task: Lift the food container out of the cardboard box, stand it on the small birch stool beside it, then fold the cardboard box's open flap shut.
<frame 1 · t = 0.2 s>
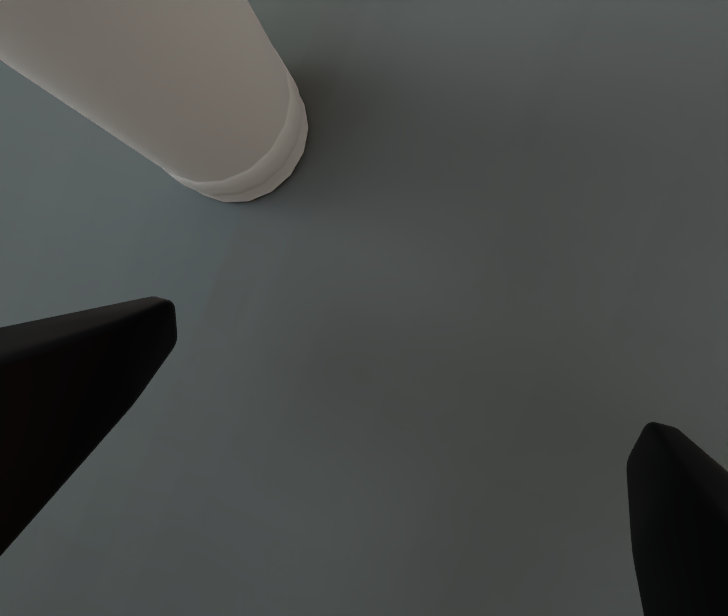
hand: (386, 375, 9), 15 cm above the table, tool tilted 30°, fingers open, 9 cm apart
bottle: (241, 136, 27), on the table
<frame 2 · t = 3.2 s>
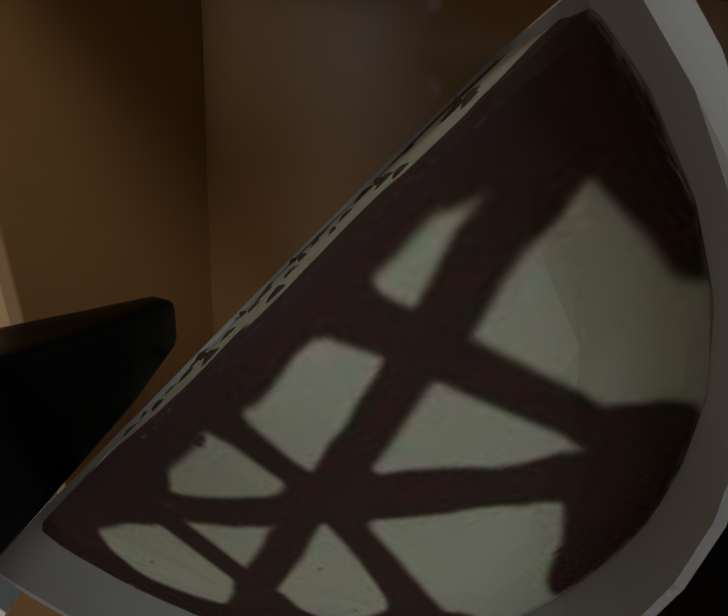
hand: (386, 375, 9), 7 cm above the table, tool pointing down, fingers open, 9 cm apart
food container: (437, 259, 14), resting on cardboard box
cardboard box: (439, 256, 15), on the table
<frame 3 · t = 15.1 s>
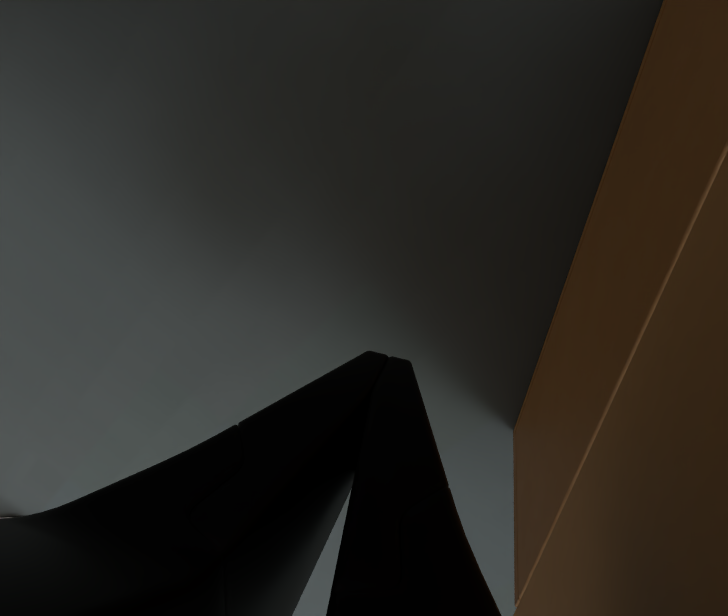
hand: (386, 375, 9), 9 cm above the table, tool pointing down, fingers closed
flap: (651, 568, 6), point 12 cm above the table, hinge at 95.6°, touching gripper
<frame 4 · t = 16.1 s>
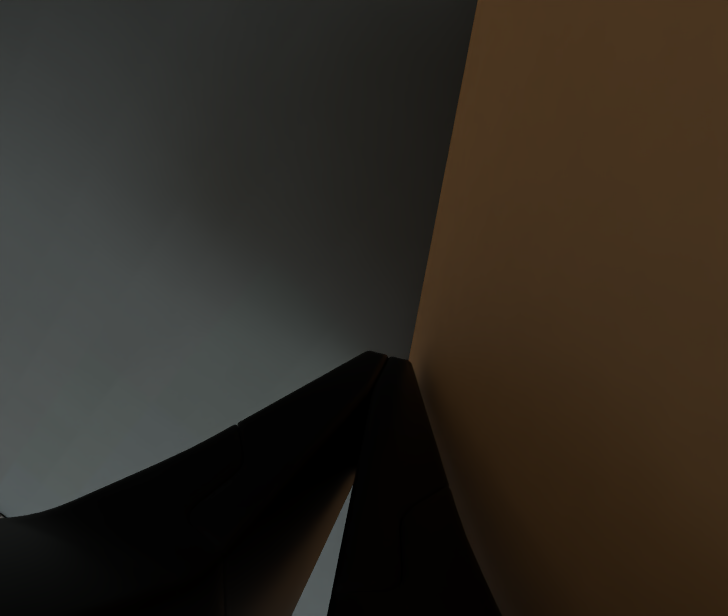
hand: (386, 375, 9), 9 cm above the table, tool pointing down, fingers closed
flap: (485, 504, 7), point 11 cm above the table, hinge at 65.7°, touching gripper
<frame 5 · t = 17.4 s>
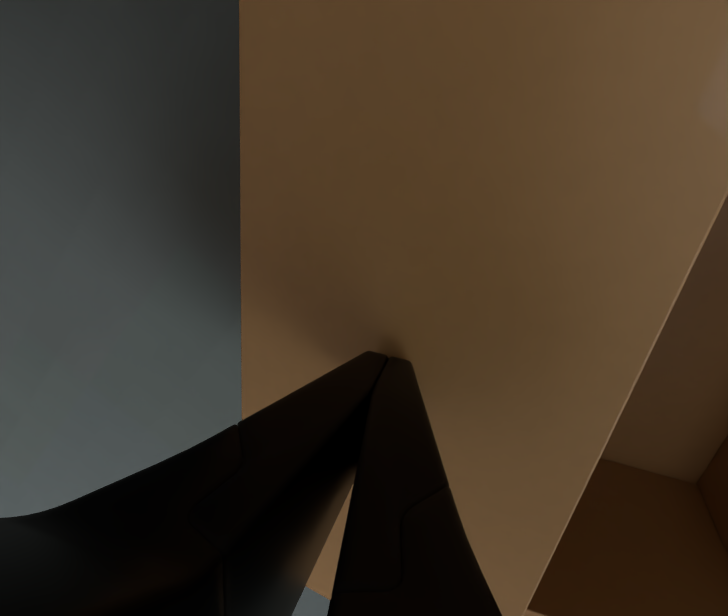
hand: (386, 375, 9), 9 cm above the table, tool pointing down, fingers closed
flap: (401, 370, 9), point 9 cm above the table, hinge at 10.5°
cardboard box: (564, 254, 16), on the table
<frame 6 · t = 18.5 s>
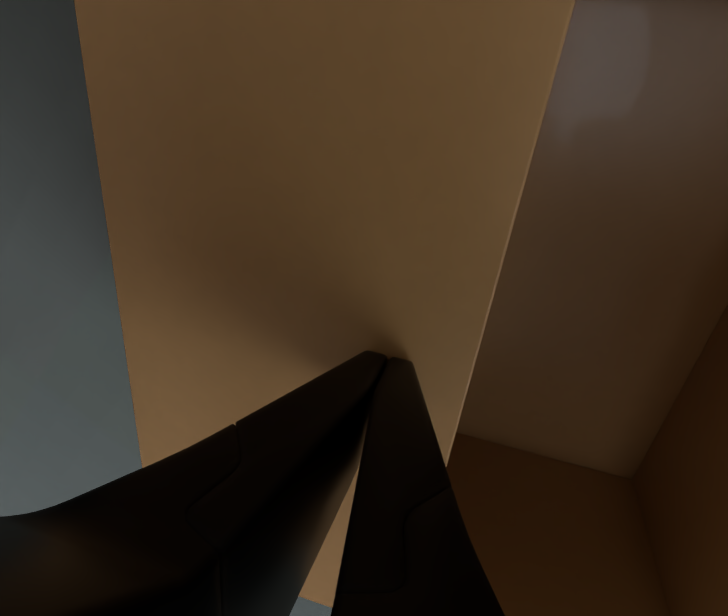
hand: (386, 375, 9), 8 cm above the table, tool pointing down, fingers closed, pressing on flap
flap: (284, 342, 10), point 8 cm above the table, hinge at -0.4°, touching gripper
cardboard box: (489, 247, 16), on the table
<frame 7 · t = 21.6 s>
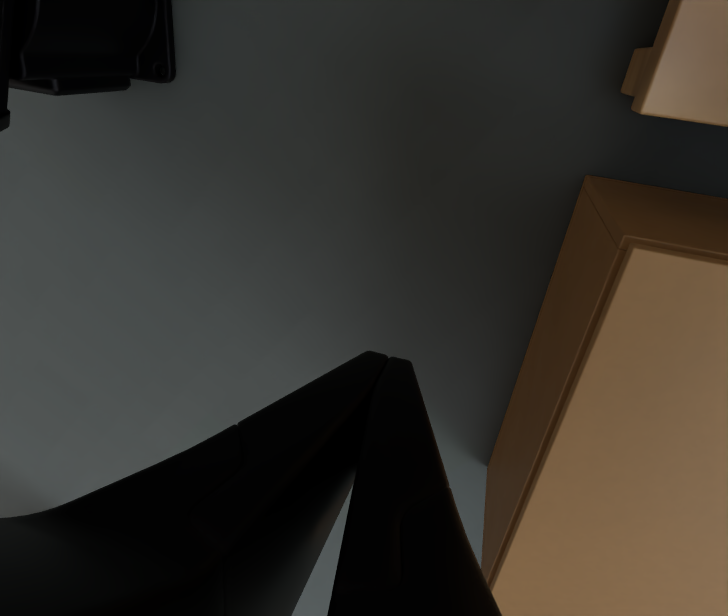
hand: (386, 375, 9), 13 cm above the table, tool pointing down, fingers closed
flap: (658, 508, 15), point 8 cm above the table, hinge at -0.5°
cardboard box: (701, 387, 21), on the table
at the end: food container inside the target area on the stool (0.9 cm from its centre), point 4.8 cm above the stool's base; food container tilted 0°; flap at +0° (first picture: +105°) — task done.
